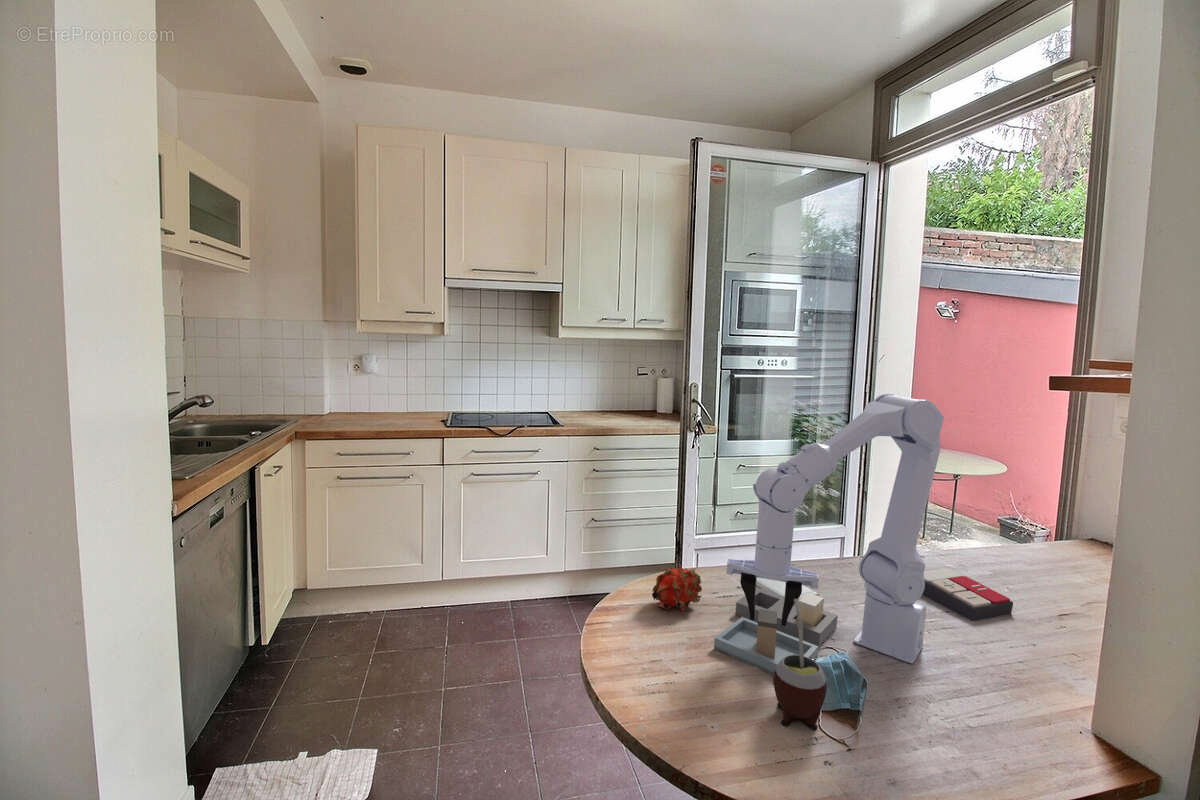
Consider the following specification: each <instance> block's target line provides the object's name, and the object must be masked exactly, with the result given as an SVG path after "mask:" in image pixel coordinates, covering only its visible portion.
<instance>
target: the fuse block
mask: <svg viewBox="0 0 1200 800" xmlns="http://www.w3.org/2000/svg"><path fill="white" fill-rule="evenodd" d="M784 600H785V597H784V596H781V595H778V594H775V593H772V592H769V591H766V590H764V589H762V588H760V587H759V586H756V591H755V617H754V620H751V621H754V622H757V623H758V615H759V609H764V610H770V611H776V612H777V629H776V630H777V631H780V632H782V633H785V634H788V635H790V636H793V637H795V638H798V639H799V630H798V626H797V625H798V624H797V621H798V620H797V611H796V607H795V604H794V606H793V607H792V609H791V611H790V614H789V616H788V619H787V622H786V626H781V623H782V611H783V606H784ZM759 605H760V606H759ZM762 606H764V607H762ZM765 607H766V608H765ZM735 615H736V616H738V617H740V618H741V617H744V618H746V619H749V620H750V613H749V607H748V603H747V599H746V596H745V595H744V596H743V597H741V598H740V599H739V600H738V601H736V602H735ZM837 625H838V614H836V613H833V612H830V611H827V610H824V609H823V615H822V621H821V622H820V623H819V624H818V625H817V626H816V627H814V626H812V625H809V624H806V623H803V628H802V633H803V641H806V642H808V643H811V644H814V645H816V646H818V648H820V647H821V645H822V644H823V643H824V642H825V641H826V640H827V639H828V638H829V636H830V635H831V634H833V632H834V631H835V630H836V629H837V628H838V627H837Z"/></svg>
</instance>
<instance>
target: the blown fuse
mask: <svg viewBox="0 0 1200 800" xmlns="http://www.w3.org/2000/svg"><path fill="white" fill-rule="evenodd" d="M776 629H777V612H776V611H770V610H764V609H759V615H758V627H757V646H756V653H758V654H761V655H763V656H766V657H769V658H774V659H775V646H776Z"/></svg>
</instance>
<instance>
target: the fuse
mask: <svg viewBox="0 0 1200 800" xmlns="http://www.w3.org/2000/svg"><path fill="white" fill-rule="evenodd" d="M824 601H825V597H822V596H820V595H819V596H817V595H814V594H811V593H807V594H806V595H805V596H803V597H802V598H801V599H800V600H799V601H798V604H799V608H800V613H801V618H802V621H803V623H806V624H809V625H812V626H814V627H816V626H817V625H818V624H819V623H820V622H821V621H822V615H823V610H824V604H825V603H824ZM797 620H798V617H797Z"/></svg>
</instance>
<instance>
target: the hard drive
mask: <svg viewBox="0 0 1200 800" xmlns="http://www.w3.org/2000/svg"><path fill="white" fill-rule="evenodd" d="M756 587H758V588H760V589H763V590H766V591H769V592H772V593H775V594H778V595H781V596H784V597H785V587H786V582H782V581H776V580H770V579H765V578H759V577H757V580H756ZM807 593H811V594H814V595H817V596H820V594H819V593H818V592H816V591H814V590H812V588H811V589H810V588H809V587H807V586H806V585H802V593H801V595H800V597H799V598H798V601H799V600H800V599H801V598H802V597H803V596H805V595H806V594H807Z"/></svg>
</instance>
